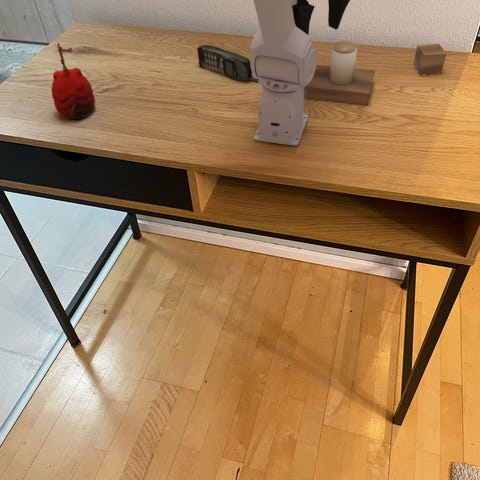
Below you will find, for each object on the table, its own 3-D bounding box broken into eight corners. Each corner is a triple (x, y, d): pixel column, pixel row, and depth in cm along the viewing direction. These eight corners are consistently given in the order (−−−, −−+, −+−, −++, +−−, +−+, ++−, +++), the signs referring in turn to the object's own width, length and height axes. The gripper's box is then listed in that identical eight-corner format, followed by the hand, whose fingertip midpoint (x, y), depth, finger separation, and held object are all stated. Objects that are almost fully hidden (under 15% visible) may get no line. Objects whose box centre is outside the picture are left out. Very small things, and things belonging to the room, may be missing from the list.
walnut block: (441, 74, 103) (446, 53, 99) (419, 75, 103) (424, 55, 99) (433, 64, 106) (438, 43, 103) (413, 65, 106) (417, 45, 102)
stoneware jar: (357, 81, 97) (361, 48, 92) (336, 86, 96) (339, 53, 91) (346, 71, 100) (349, 38, 95) (325, 76, 99) (327, 43, 94)
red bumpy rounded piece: (94, 99, 102) (73, 25, 91) (100, 116, 97) (79, 40, 87) (56, 108, 100) (30, 33, 90) (61, 126, 96) (34, 50, 85)
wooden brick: (367, 105, 96) (369, 93, 94) (305, 98, 98) (305, 86, 97) (373, 82, 102) (375, 70, 100) (314, 76, 104) (314, 64, 103)
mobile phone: (194, 46, 106) (251, 63, 99) (203, 41, 108) (260, 57, 101) (197, 69, 110) (252, 86, 103) (206, 63, 111) (261, 80, 104)
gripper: (305, -30, 81) (301, 52, 91) (371, -50, 86) (361, 29, 96) (278, -41, 85) (277, 38, 95) (342, -60, 90) (336, 17, 100)
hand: (318, 33), depth 96 cm, fingers open, 7 cm apart
